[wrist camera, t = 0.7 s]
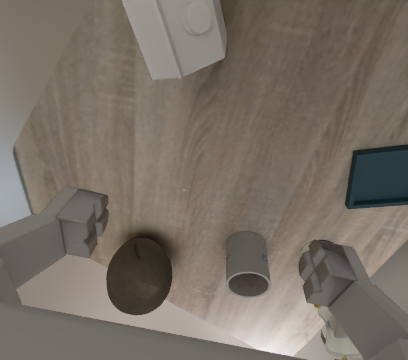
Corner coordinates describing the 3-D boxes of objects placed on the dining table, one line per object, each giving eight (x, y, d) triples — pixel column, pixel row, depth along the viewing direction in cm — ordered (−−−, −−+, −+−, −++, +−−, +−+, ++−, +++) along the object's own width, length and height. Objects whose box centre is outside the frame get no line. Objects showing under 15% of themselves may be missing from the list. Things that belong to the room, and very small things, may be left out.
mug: (229, 229, 56) (229, 268, 47) (269, 234, 55) (275, 274, 47) (222, 264, 63) (221, 304, 54) (257, 269, 62) (261, 309, 54)
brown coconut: (111, 247, 63) (81, 307, 50) (138, 216, 56) (113, 276, 43) (159, 272, 67) (143, 334, 55) (191, 246, 60) (181, 309, 48)
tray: (353, 150, 43) (356, 155, 41) (432, 141, 41) (439, 146, 39) (345, 204, 49) (347, 209, 48) (413, 198, 47) (418, 204, 46)
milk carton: (178, 53, 36) (140, 92, 21) (160, -6, 33) (95, -12, 17) (227, 37, 35) (224, 67, 19) (213, -27, 31) (196, -54, 16)
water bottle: (292, 260, 60) (323, 396, 39) (307, 236, 55) (353, 376, 34) (326, 267, 60) (374, 405, 40) (344, 243, 55) (411, 387, 35)
